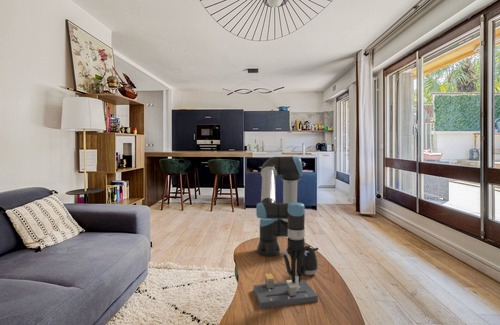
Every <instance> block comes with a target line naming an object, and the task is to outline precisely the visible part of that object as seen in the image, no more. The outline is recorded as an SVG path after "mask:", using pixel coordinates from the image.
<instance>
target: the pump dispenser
mask: <svg viewBox="0 0 500 325" xmlns="http://www.w3.org/2000/svg"><path fill="white" fill-rule="evenodd" d="M304 248H305V250H306V251H308V252H309V253H310V256H309V257H308V261H307V265H306V269H305V273H304V275H306V276H313V275H315V274H316V273H317V271H318V268H319V264H318V263H319V261H318V258H317V255H316V251H318V250H319V247H315V248H314V247H312V246H311V245H309V244H308V245H305V246H304ZM303 256H304V254H303V255H302V257H301V264H302V260H303Z"/></svg>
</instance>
